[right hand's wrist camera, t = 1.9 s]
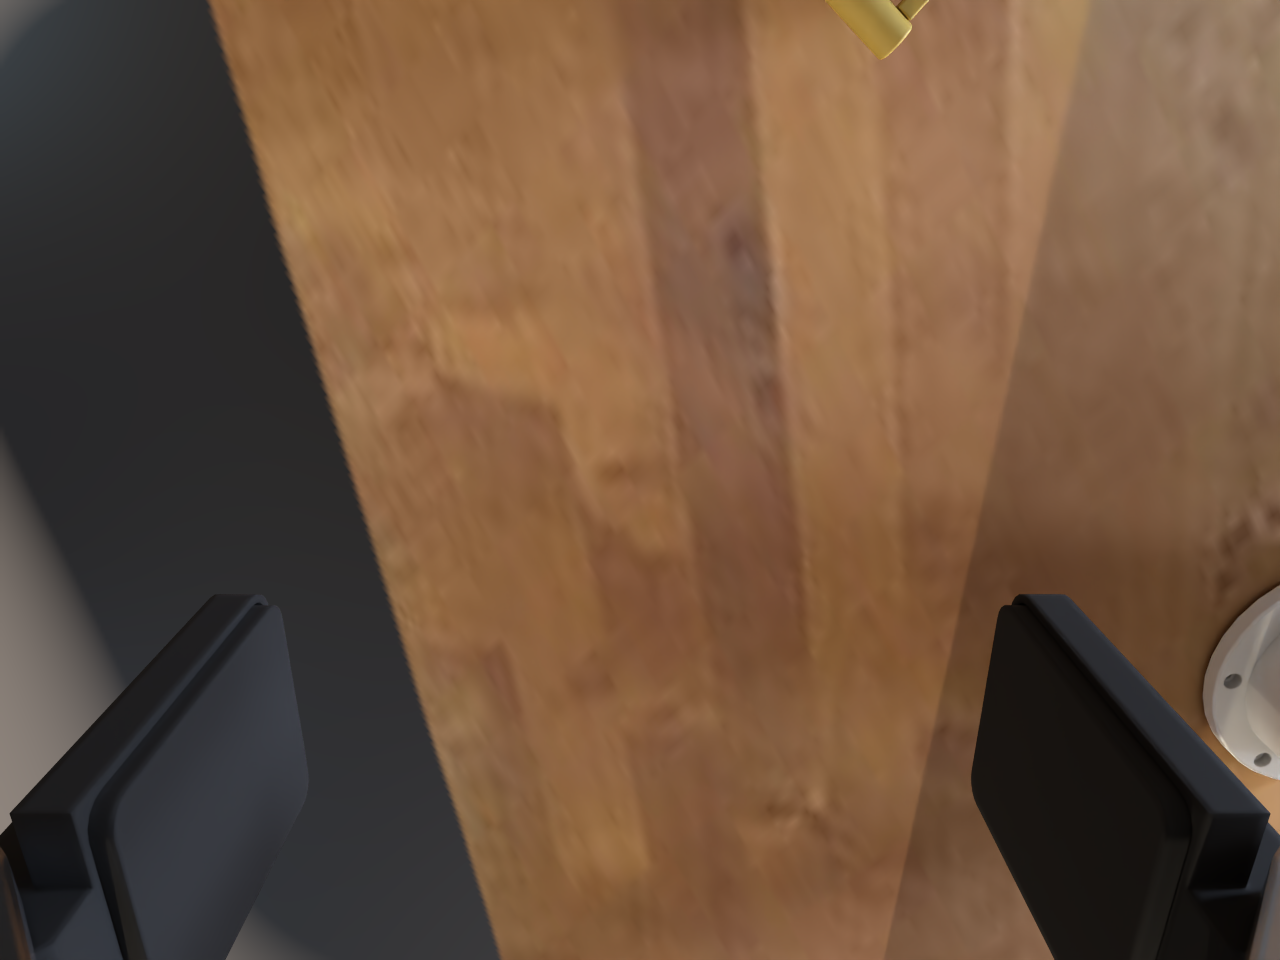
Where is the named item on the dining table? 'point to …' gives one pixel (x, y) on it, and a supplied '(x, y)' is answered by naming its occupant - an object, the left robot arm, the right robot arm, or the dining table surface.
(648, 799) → the dining table surface
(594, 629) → the dining table surface
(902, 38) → the drawer
